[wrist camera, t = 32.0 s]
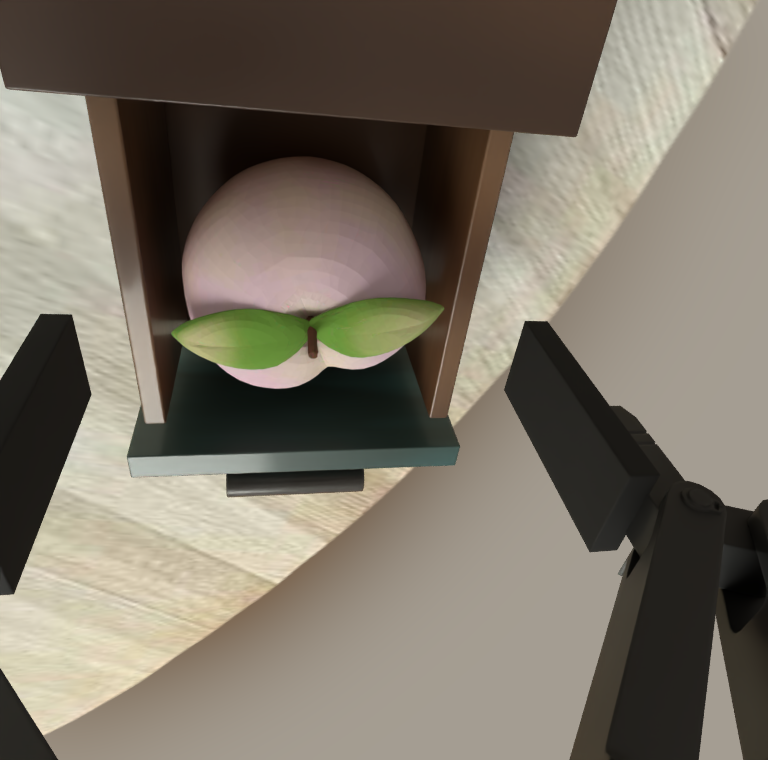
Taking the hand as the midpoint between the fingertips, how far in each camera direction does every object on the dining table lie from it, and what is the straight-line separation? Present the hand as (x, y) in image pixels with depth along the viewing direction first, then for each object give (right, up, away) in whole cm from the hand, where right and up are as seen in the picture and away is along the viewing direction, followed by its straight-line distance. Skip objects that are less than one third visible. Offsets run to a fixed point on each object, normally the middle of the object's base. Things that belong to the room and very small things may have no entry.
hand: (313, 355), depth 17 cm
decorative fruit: (-2, +7, +8) cm, 11 cm away
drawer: (-2, +5, +11) cm, 12 cm away
